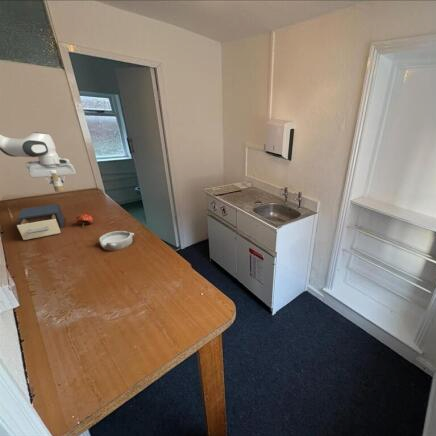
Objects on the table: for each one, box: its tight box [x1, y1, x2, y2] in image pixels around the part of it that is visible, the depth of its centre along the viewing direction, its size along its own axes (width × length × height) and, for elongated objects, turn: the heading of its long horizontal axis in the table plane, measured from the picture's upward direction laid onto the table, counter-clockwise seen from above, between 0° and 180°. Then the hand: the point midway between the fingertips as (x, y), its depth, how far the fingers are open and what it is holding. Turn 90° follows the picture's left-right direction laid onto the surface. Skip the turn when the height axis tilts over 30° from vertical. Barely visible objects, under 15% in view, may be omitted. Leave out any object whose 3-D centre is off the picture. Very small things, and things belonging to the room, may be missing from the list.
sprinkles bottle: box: [49, 170, 65, 193], centre depth 145 cm, size 5×5×13 cm
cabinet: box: [17, 203, 65, 229], centre depth 131 cm, size 16×15×10 cm
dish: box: [98, 230, 135, 252], centre depth 117 cm, size 14×14×5 cm
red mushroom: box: [75, 212, 94, 228], centre depth 134 cm, size 7×7×10 cm
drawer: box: [16, 214, 61, 241], centre depth 122 cm, size 19×14×8 cm
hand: (57, 182), depth 145 cm, fingers closed on sprinkles bottle, 4 cm apart
